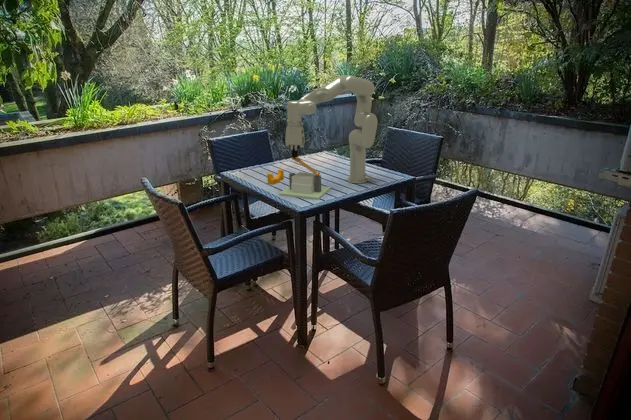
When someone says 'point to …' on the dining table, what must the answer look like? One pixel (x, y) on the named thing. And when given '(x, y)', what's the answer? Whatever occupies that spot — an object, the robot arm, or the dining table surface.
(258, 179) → the dining table surface
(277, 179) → the pipe clamp
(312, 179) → the board
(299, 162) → the strap
